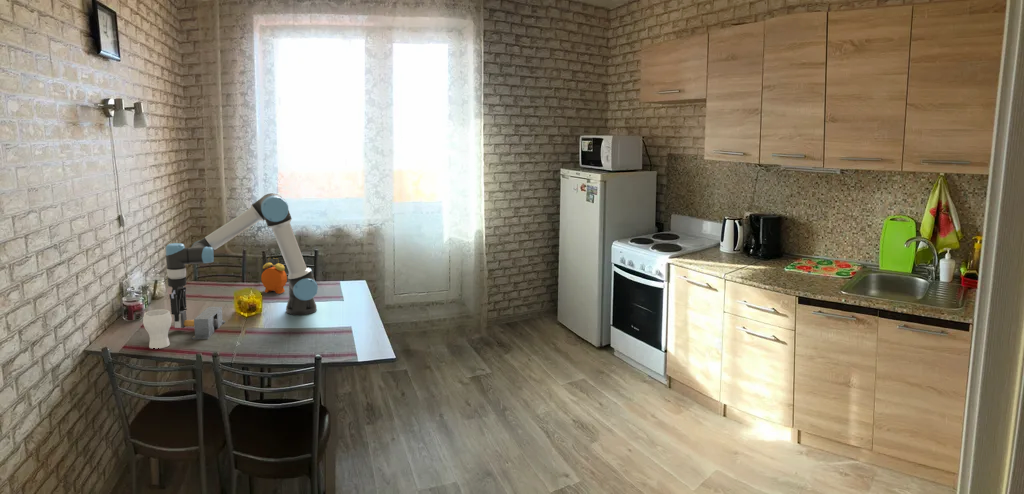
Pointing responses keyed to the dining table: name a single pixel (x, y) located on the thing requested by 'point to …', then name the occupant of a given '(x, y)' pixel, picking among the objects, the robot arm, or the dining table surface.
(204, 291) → the dining table surface
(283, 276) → the alarm clock
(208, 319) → the housing
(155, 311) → the cup
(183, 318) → the hammer
